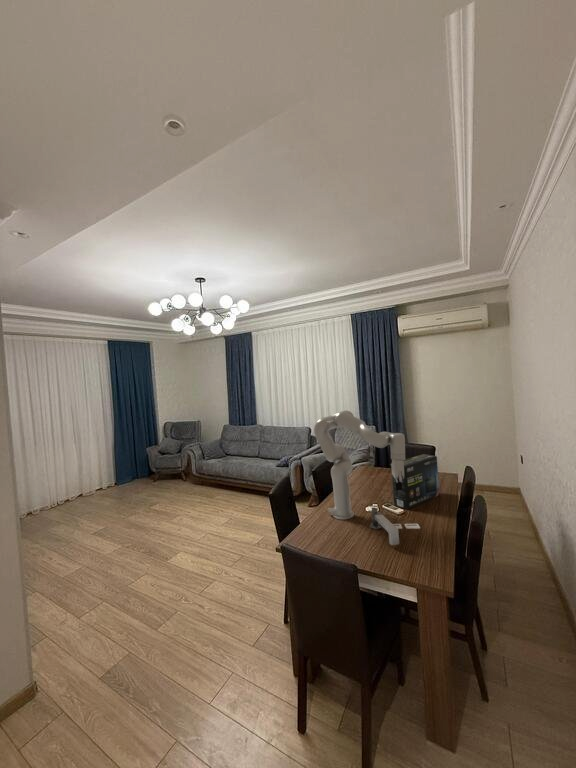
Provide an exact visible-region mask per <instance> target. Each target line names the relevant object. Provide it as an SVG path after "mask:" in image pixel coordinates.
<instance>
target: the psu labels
mask: <svg viewBox="0 0 576 768" xmlns="http://www.w3.org/2000/svg"><path fill="white" fill-rule="evenodd" d="M392 524H393V525H394V526H395V527H396V528H397V529H398V530H402V529H403V526H402V524H401V523H392ZM404 527H405V529H406V530H421V526H420V525H419V524H418V523H404Z"/></svg>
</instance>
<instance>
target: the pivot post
mask: <svg viewBox="0 0 576 768" xmlns="http://www.w3.org/2000/svg"><path fill="white" fill-rule="evenodd" d="M375 512H378V508H377V507H375V506H373V507H371V514H372V513H375ZM371 519H372V522H371V523H370V524H369V528H370V529H372V530H380V529H382V526H381V525H380V524H379V523H378V522H377V521H376V520H375V519H374V518H373V516H372V515H371Z"/></svg>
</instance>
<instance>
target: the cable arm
mask: <svg viewBox="0 0 576 768" xmlns="http://www.w3.org/2000/svg"><path fill="white" fill-rule="evenodd" d="M372 516H373V518H374V519H375V520H376V521H377V522H378V523H379V524H380V525H381V528H383V529H384V530H385V531H386V532H387V533H388V540H389V541H388V543H389V544H390V545H391V546H395V545H396V546H397V545H400V536H399V529H397V528H396V527H395V526H394V525H393V524H394V523H392V522H391V521H390V520H389V519H388V518H387V517H386V516H385V515H383V513H382V512H381V511H377V512H375V513H372V512H371V517H372Z"/></svg>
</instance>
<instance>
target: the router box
mask: <svg viewBox="0 0 576 768" xmlns="http://www.w3.org/2000/svg"><path fill="white" fill-rule="evenodd" d="M403 461H404V478H402V490H396V483H395V482H396V479H395V478H394V476H393V475H392V474H391V481H392V483H391V484H392V485H391V486H392V499H393V503H392V504H393V506H396V507H398V508H401V509H405V510H409V509H412V508H415V507H416V506H419V505H421V504H424V503H426V502H428V501H431V500H433V499H434V497H435V498H437V496H438V497H440V487H439V483H440V482H439V472H438V457H437V456H436V455H431V454H426V453H425V454H424V453H422V454H420V455H415V456H412V457H409V458H405V460H403ZM390 466H391V467H390V468H391V471H392V462H391V463H390Z"/></svg>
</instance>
